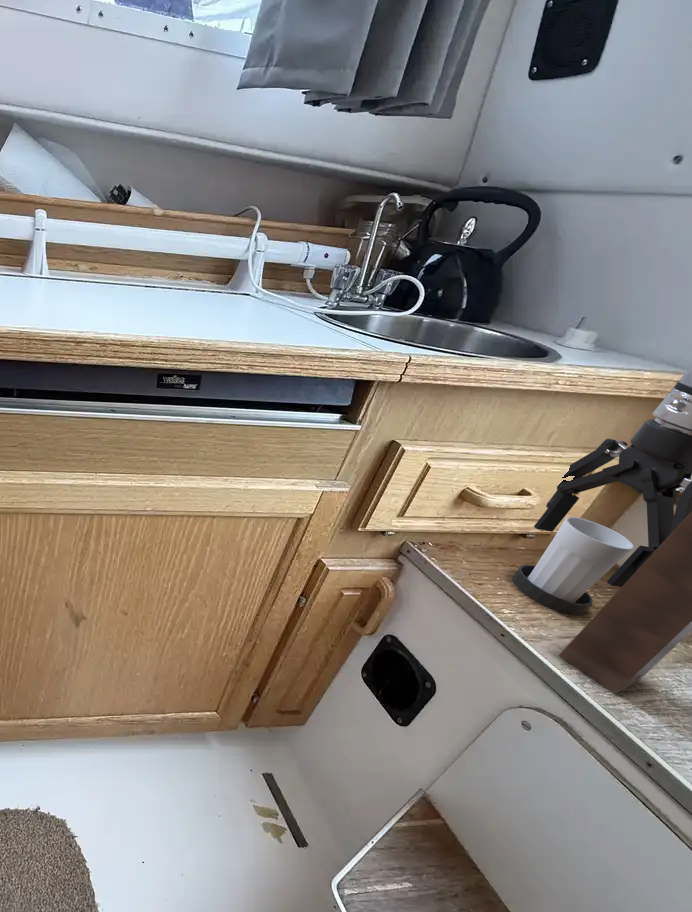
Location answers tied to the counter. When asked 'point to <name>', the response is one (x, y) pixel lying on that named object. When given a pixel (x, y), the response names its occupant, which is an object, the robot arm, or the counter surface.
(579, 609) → the ring
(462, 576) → the counter surface
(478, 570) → the counter surface
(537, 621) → the counter surface
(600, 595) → the counter surface
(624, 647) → the stand
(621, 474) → the robot arm
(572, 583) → the cup
